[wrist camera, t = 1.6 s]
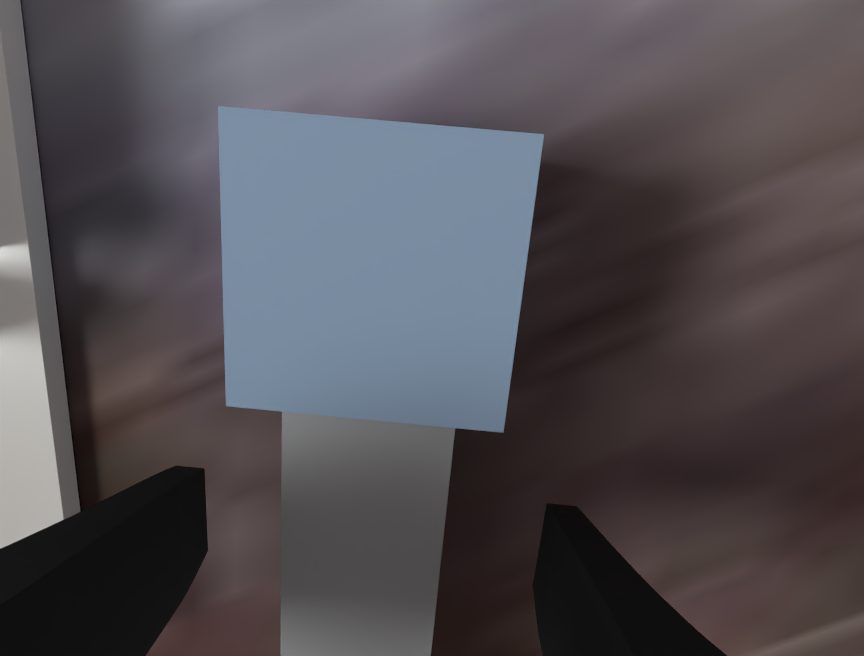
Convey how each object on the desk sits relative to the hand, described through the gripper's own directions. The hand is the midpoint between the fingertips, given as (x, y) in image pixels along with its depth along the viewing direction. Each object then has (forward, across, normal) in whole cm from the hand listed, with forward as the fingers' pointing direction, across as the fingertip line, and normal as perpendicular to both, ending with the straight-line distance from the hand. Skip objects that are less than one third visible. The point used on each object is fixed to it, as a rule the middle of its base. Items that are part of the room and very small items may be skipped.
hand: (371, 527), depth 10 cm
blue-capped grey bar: (+3, 0, 0) cm, 3 cm away
